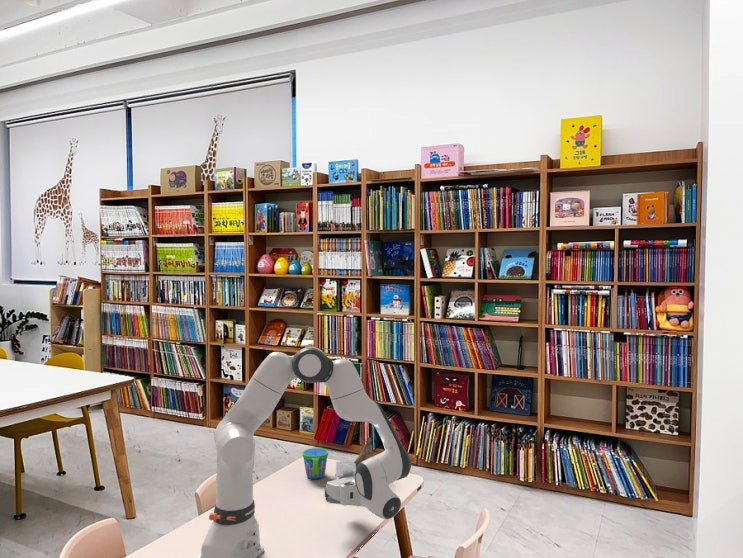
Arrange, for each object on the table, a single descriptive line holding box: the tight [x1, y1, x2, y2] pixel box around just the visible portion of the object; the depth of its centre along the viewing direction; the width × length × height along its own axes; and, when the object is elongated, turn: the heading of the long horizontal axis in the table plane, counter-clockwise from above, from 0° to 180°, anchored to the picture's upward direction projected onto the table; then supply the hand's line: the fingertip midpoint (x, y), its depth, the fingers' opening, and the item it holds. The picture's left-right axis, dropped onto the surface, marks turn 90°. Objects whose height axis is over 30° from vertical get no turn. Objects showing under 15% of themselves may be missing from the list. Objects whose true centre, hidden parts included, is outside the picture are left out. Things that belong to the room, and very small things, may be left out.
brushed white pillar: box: [335, 459, 356, 479], centre depth 191 cm, size 5×5×11 cm
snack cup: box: [302, 447, 329, 480], centre depth 227 cm, size 16×10×10 cm
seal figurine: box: [353, 437, 374, 468], centre depth 228 cm, size 12×6×18 cm, turn 52°
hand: (344, 476), depth 191 cm, fingers closed on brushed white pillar, 5 cm apart
